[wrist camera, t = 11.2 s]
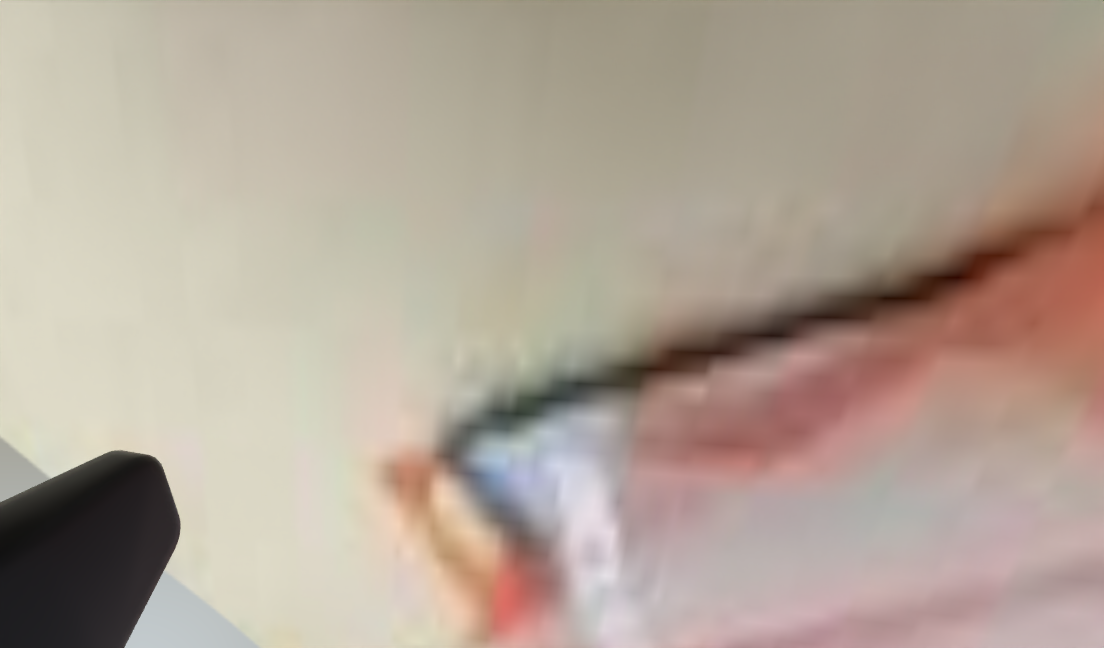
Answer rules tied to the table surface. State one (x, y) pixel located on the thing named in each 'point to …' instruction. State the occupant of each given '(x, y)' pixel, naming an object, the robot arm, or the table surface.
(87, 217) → the table surface
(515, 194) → the table surface
